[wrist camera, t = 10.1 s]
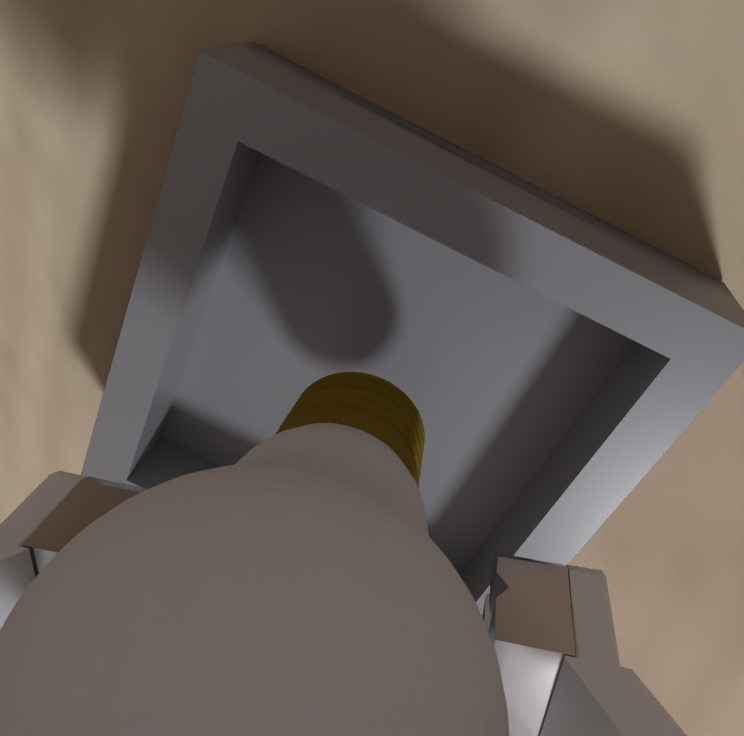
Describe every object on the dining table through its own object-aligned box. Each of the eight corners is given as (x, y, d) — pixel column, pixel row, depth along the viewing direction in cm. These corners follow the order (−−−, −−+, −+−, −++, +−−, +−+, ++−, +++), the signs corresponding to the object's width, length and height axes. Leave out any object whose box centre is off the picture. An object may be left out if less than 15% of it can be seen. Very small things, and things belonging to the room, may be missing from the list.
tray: (252, 42, 13) (198, 51, 11) (723, 282, 13) (763, 338, 11) (129, 431, 18) (76, 491, 16) (475, 595, 18) (469, 676, 16)
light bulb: (299, 213, 12) (-212, 716, 4) (575, 373, 13) (695, 1151, 4) (189, 438, 15) (-239, 1014, 7) (418, 563, 16) (299, 1251, 7)
